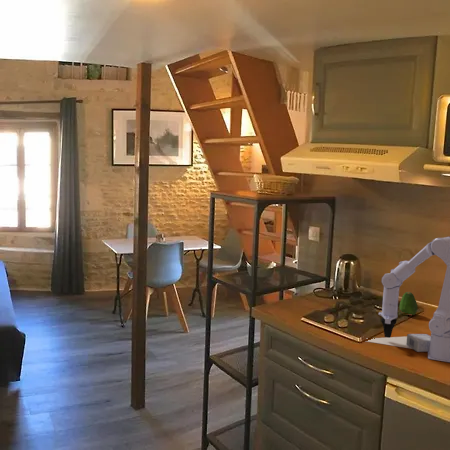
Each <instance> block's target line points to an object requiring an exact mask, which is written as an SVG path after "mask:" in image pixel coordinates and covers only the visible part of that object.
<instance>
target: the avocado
mask: <svg viewBox="0 0 450 450" xmlns="http://www.w3.org/2000/svg"><path fill="white" fill-rule="evenodd" d="M401 296H402V297H401V299H400V302H399V305H398V306H399V307H398V308H399V311H400V310H401V311H402V312H405V313H408V314H412V315H414V316H415V315H416V314H417V312H418V303H417V299H416V298H415V296H414V294H413V293H412V292H411V291H406V292H403V295H401Z"/></svg>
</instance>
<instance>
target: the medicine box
mask: <svg viewBox="0 0 450 450" xmlns="http://www.w3.org/2000/svg"><path fill="white" fill-rule="evenodd" d="M406 335H407V343H406V344H407V345H408V346H409V347H411V348H412V350H413V351H415V352H418V353H420V352H421V353H424V352H425V353H428V351H430V340H431V335H430V334H428V333H408V334H406Z"/></svg>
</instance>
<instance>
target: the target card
mask: <svg viewBox="0 0 450 450" xmlns="http://www.w3.org/2000/svg"><path fill="white" fill-rule="evenodd" d="M372 338H373V339H371V340H368V341H366V342H368V343H374V344H380V345H387V346H392V347H399V348H406V349H412V348H411V347H409V346H408V345H407V344H406V343H407V336H393V337H392V336H391V337H390V338H388V337H372ZM374 338H375V339H374ZM412 350H413V349H412Z"/></svg>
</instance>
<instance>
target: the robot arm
mask: <svg viewBox="0 0 450 450" xmlns="http://www.w3.org/2000/svg"><path fill="white" fill-rule="evenodd" d="M432 256H437V257H438V258H440V259H441V260H442V261H443V262H444V264H445V265H446V270H445V275H444V279H443V284H442V287H441V292H440V298H439V301H438V306H437V308H436V310H435V311H434V312H433V316H432V317H431V319H429V322H428V329H429V330H430V336H431V340H430V351H428V352H427V359H428V360H434V361H441V362H445V363H450V236H444V237H437V238H434V239H432V240H431V241H430V242H428V243H427V244H426V245H425V246H424V247H423V248H422V249H421V250H420V251H419V252H417V253H416V254H415V255H414V256H413V257H412V258H410V259H409V260H403V261H400V262H398V265H397V266H396V267H394V268H392V269H390V273H384V275H383V276H382V277H381V284H382V286H383V293H382V308H381V312H378V315H379V316H381V320H380V322H381V324H382V327H383V335H384V338H387V337H388V338H390V337H392V333H393V330H394V327H395V325H396V324H397V319H398V310H399V309H398V308H399V307H398V306H399V298H400V297H399V294H400V287H401V286H402V285H403V284H404V283H403V282H404V281H405V280H407V279H408V278H410V277H411V276H412V275H413V274H414V273H416V268H417V267H418V266H419V265H420V264H422V263H424V262H425V261H426V260H428V259H429V258H431V257H432Z"/></svg>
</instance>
